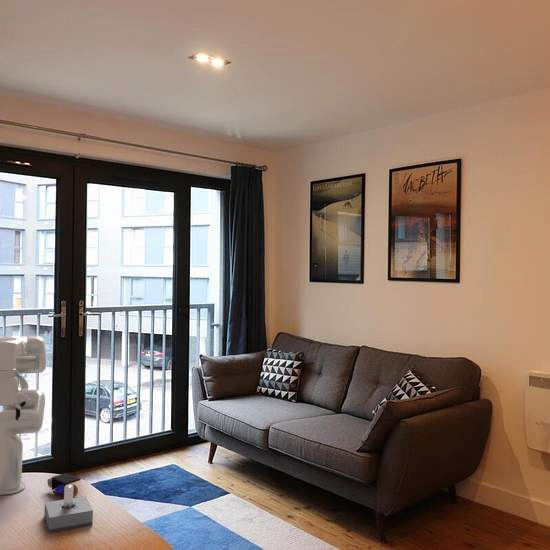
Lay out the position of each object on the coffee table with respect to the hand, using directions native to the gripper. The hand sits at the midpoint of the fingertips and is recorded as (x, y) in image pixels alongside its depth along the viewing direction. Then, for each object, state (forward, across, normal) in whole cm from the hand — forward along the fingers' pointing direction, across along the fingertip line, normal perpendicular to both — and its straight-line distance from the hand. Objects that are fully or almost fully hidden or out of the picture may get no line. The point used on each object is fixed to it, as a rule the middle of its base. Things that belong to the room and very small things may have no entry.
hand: (2, 420), depth 200 cm
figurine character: (+33, -23, -6) cm, 40 cm away
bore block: (+32, -21, +20) cm, 43 cm away
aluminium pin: (+31, -21, +20) cm, 43 cm away
